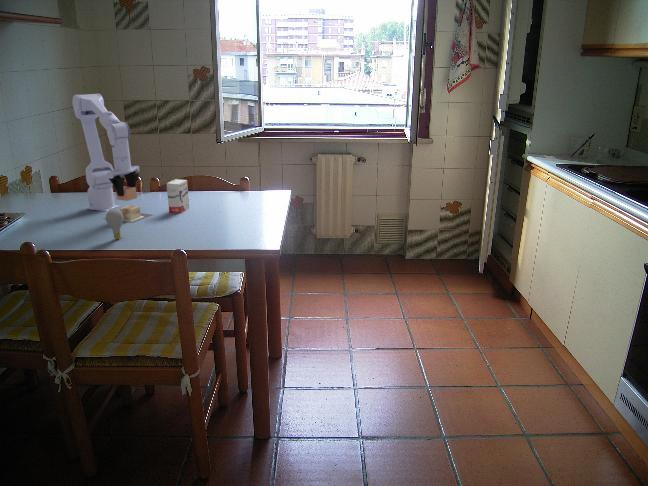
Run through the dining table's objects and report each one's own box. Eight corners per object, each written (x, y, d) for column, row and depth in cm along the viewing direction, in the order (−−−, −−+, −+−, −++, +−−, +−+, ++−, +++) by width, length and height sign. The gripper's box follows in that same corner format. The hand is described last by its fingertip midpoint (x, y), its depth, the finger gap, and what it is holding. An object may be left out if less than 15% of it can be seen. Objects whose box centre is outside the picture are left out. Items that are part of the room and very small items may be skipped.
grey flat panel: (102, 219, 201) (102, 219, 200) (125, 211, 211) (125, 211, 211) (132, 223, 195) (132, 223, 195) (154, 215, 206) (154, 214, 206)
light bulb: (111, 236, 181) (107, 207, 178) (128, 236, 181) (124, 207, 178) (106, 242, 176) (102, 212, 173) (123, 241, 176) (120, 211, 173)
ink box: (180, 214, 207) (177, 184, 204) (168, 213, 208) (165, 183, 205) (190, 208, 215) (187, 179, 212) (178, 207, 216) (176, 178, 213)
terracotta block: (116, 199, 198) (115, 188, 196) (126, 196, 202) (125, 186, 201) (127, 200, 196) (126, 189, 195) (136, 198, 200) (135, 187, 199)
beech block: (120, 219, 200) (119, 208, 199) (130, 215, 205) (129, 205, 203) (131, 220, 198) (130, 209, 197) (140, 216, 203) (139, 206, 202)
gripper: (115, 161, 186) (120, 199, 191) (144, 154, 199) (148, 190, 203) (99, 160, 189) (105, 197, 193) (129, 153, 201) (133, 189, 206)
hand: (126, 194), depth 198 cm, fingers closed on terracotta block, 5 cm apart
